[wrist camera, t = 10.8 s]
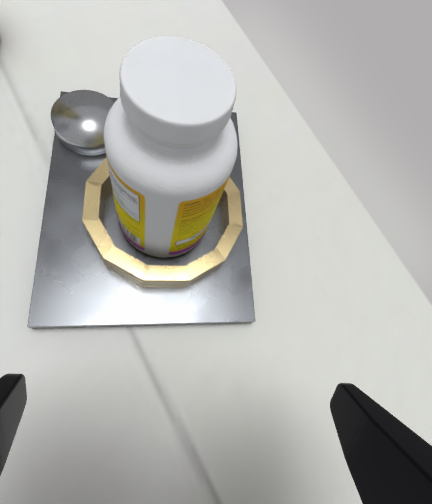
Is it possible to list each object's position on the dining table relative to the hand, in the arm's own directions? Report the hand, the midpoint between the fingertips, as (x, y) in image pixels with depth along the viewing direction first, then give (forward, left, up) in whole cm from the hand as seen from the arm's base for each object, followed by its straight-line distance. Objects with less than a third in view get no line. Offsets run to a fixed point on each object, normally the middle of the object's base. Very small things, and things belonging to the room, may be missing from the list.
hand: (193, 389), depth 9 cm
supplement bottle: (+11, 0, -13) cm, 17 cm away
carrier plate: (+13, +1, -13) cm, 19 cm away
